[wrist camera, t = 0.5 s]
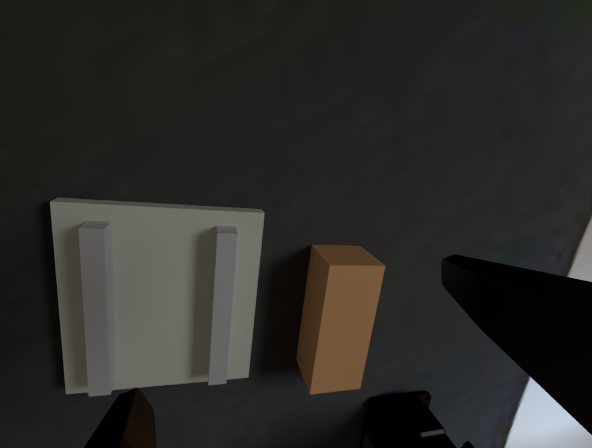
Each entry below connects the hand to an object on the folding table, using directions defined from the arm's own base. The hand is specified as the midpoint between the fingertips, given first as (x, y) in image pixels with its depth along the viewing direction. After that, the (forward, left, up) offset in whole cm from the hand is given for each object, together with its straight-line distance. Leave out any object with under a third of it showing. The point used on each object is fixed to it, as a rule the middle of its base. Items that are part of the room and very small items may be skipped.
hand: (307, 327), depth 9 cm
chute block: (-8, -7, -14) cm, 18 cm away
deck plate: (-7, +5, -14) cm, 16 cm away
